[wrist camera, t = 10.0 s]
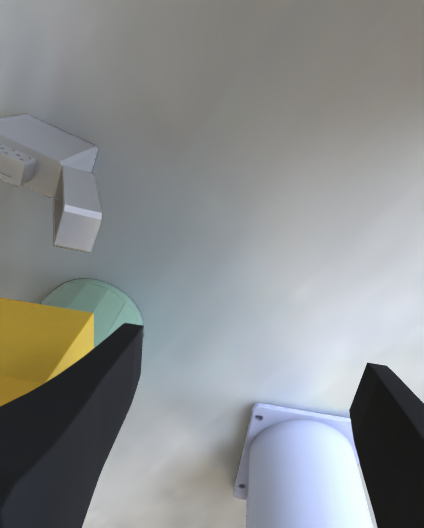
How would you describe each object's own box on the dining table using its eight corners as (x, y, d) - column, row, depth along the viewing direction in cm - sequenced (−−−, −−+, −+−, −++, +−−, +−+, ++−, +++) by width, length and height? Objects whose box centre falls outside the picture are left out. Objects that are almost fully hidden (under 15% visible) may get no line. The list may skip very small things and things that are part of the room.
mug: (74, 258, 24) (20, 312, 18) (163, 319, 25) (138, 386, 19) (13, 350, 27) (-48, 418, 22) (94, 399, 28) (56, 475, 23)
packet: (94, 463, 22) (57, 552, 18) (14, 449, 22) (-41, 533, 18) (94, 312, 18) (45, 383, 14) (-6, 296, 18) (-84, 361, 14)
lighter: (16, 144, 21) (-108, 178, 14) (23, 112, 20) (-105, 131, 13) (140, 200, 22) (84, 261, 14) (151, 171, 21) (97, 220, 14)
